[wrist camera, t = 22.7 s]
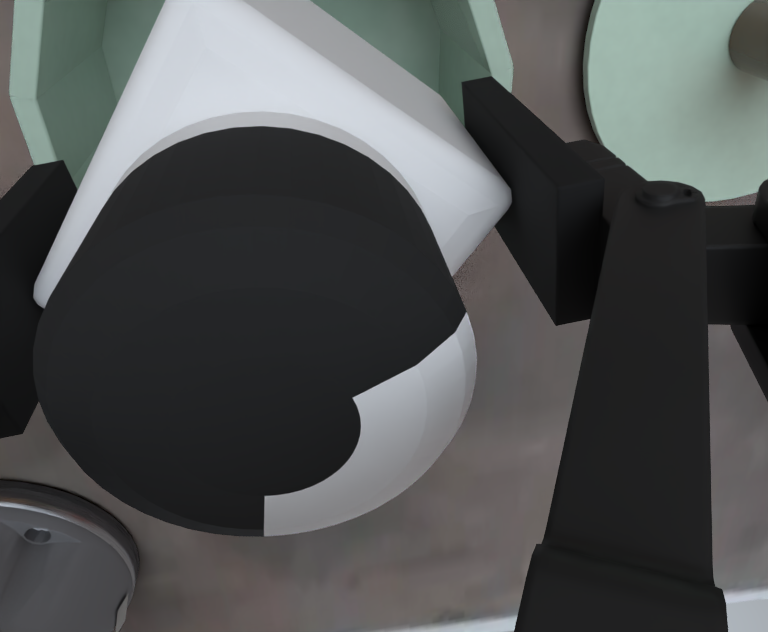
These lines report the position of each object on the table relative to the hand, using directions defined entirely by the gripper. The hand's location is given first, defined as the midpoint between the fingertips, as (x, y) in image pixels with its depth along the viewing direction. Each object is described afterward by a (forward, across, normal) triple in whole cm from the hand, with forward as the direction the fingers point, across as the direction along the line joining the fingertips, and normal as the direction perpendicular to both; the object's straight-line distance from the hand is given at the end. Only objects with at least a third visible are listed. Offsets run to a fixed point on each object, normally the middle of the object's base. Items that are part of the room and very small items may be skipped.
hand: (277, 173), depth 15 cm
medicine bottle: (+3, 0, 0) cm, 3 cm away
